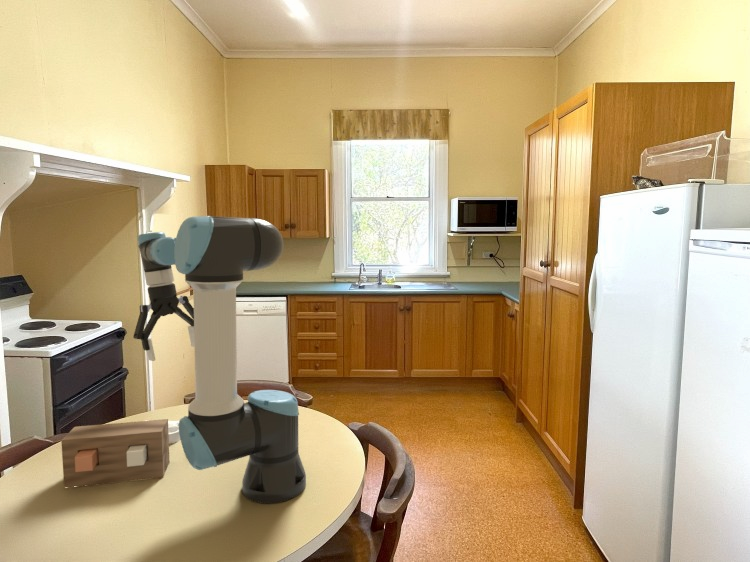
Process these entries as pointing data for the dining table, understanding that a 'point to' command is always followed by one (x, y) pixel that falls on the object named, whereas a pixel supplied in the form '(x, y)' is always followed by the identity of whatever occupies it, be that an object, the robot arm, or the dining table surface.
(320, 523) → the dining table surface
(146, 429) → the key console
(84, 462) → the terracotta key
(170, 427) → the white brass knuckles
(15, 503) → the dining table surface
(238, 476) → the dining table surface
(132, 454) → the ivory key
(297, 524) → the dining table surface
